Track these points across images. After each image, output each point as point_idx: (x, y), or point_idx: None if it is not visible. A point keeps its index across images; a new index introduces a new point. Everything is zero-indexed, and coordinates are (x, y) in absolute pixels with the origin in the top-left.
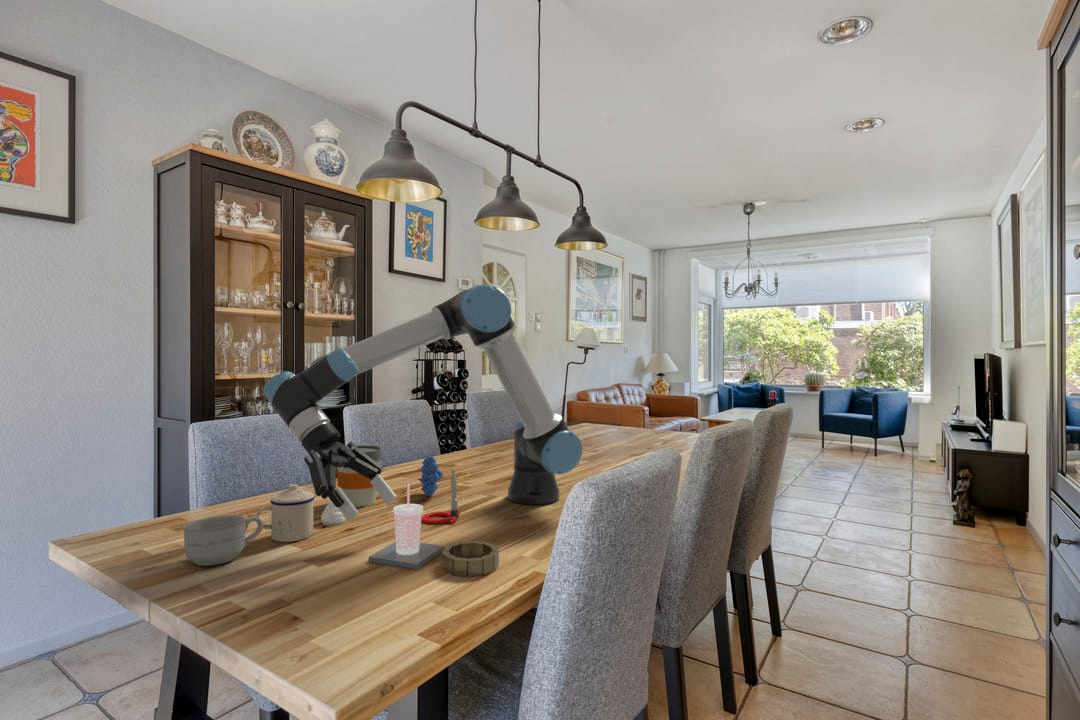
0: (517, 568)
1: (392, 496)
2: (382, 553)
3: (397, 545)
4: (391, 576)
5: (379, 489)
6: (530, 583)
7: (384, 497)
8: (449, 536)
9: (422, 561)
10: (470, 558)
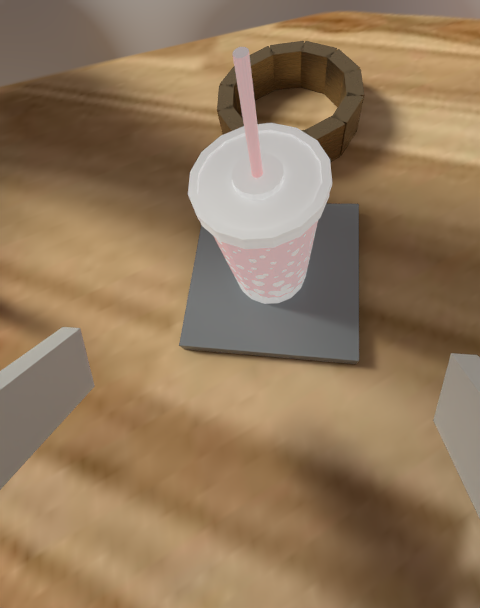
0: None
1: (74, 343)
2: (315, 332)
3: (302, 277)
4: (425, 247)
5: (19, 440)
6: (338, 14)
7: (66, 401)
8: (97, 243)
9: (327, 205)
10: (341, 70)
